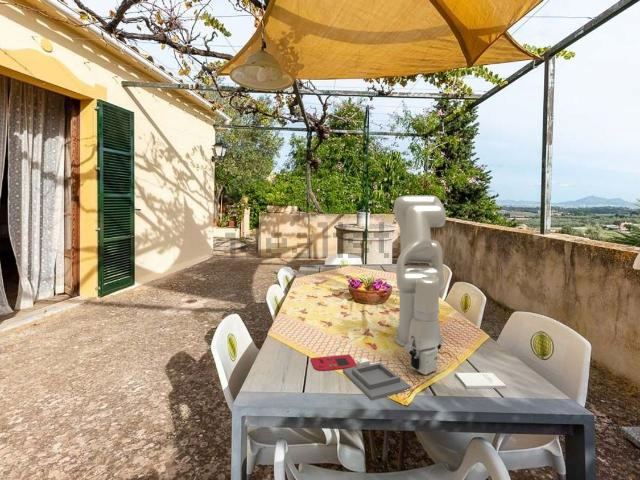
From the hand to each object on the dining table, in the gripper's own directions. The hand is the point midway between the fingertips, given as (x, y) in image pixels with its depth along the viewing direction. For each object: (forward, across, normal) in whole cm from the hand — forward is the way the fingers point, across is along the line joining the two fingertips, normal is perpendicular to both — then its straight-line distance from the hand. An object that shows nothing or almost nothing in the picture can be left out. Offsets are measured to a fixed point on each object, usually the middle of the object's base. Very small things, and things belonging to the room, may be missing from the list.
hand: (423, 365), depth 115 cm
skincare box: (+2, 0, 0) cm, 2 cm away
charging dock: (+2, +18, -1) cm, 19 cm away
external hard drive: (+3, -12, +13) cm, 17 cm away
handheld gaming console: (+3, +25, -17) cm, 31 cm away
